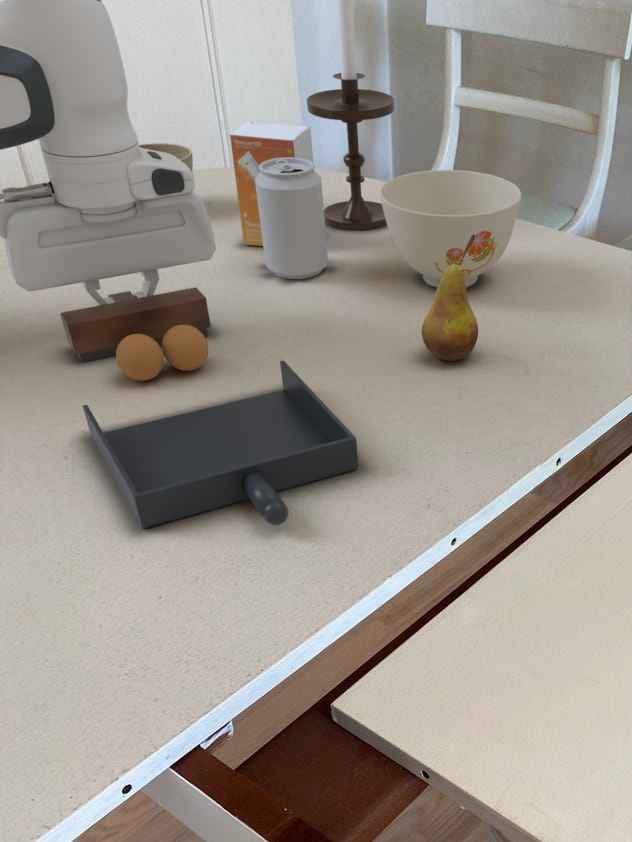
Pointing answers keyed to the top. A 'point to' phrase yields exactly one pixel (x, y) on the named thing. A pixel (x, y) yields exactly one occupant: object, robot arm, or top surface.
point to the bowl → (450, 220)
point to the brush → (132, 320)
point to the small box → (253, 149)
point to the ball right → (185, 347)
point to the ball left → (139, 357)
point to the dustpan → (227, 454)
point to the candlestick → (351, 127)
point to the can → (292, 217)
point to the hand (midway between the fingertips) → (128, 314)
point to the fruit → (451, 317)
